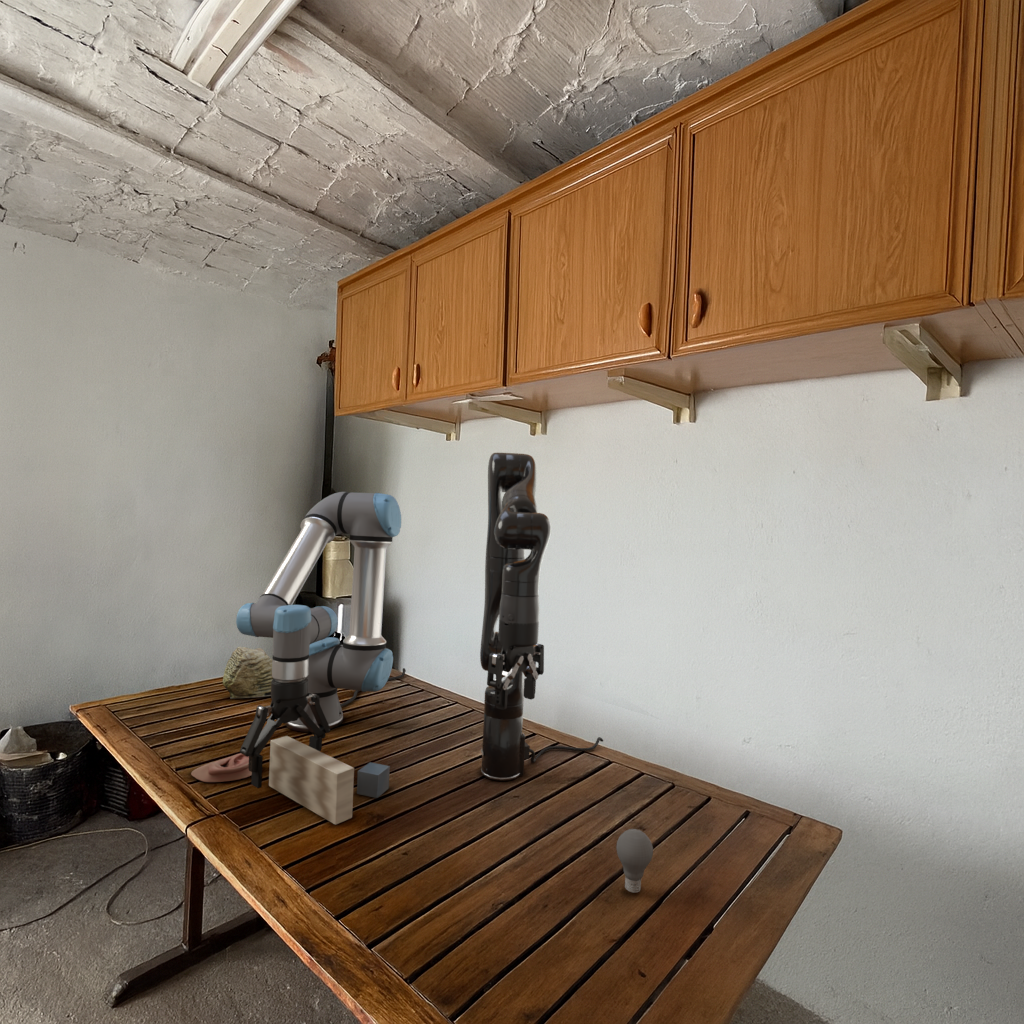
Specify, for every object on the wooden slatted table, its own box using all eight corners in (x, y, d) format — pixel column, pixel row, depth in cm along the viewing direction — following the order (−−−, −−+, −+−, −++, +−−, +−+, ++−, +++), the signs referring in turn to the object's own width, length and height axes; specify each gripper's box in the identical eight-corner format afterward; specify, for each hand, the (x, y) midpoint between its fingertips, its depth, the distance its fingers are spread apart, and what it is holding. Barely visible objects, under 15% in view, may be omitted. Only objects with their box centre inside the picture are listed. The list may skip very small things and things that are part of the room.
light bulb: (610, 879, 108) (613, 822, 108) (644, 879, 109) (647, 822, 109) (619, 902, 102) (622, 840, 102) (655, 901, 103) (658, 840, 103)
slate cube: (369, 784, 140) (370, 762, 140) (389, 788, 139) (389, 766, 139) (356, 794, 136) (357, 770, 136) (377, 798, 134) (378, 775, 134)
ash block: (268, 786, 138) (270, 740, 137) (285, 780, 141) (286, 735, 141) (335, 825, 123) (337, 774, 122) (352, 817, 126) (354, 767, 126)
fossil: (218, 695, 195) (220, 647, 195) (278, 685, 208) (279, 640, 207) (228, 703, 189) (230, 653, 188) (289, 692, 201) (290, 645, 201)
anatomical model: (182, 760, 139) (216, 741, 150) (181, 778, 139) (216, 758, 150) (236, 768, 136) (267, 748, 147) (235, 786, 136) (266, 765, 147)
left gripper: (328, 664, 149) (324, 754, 149) (224, 685, 129) (220, 788, 129) (348, 671, 144) (344, 764, 144) (243, 693, 124) (239, 800, 125)
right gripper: (526, 611, 127) (522, 691, 127) (479, 619, 116) (475, 707, 116) (557, 616, 122) (553, 699, 123) (510, 626, 111) (506, 717, 112)
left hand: (285, 776), depth 137 cm, fingers open, 13 cm apart
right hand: (515, 703), depth 120 cm, fingers open, 8 cm apart
